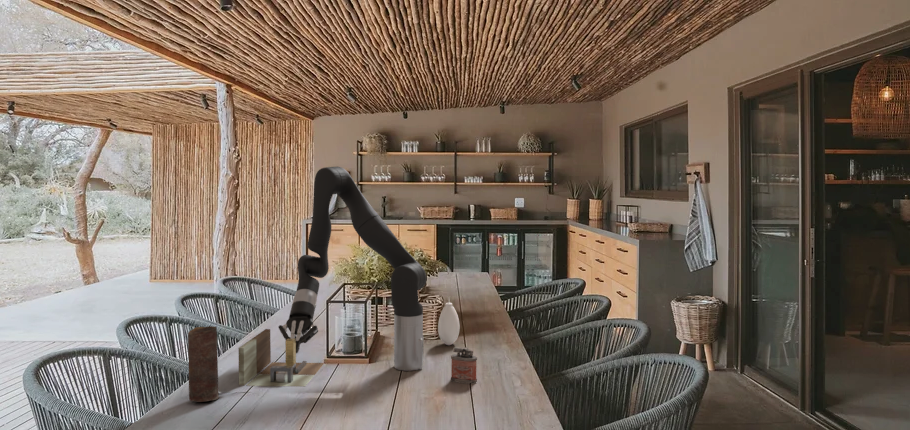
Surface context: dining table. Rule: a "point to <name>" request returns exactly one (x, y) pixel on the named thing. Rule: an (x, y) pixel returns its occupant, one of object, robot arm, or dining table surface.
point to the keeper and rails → (285, 369)
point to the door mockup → (259, 356)
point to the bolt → (288, 359)
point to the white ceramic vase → (448, 324)
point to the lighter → (463, 366)
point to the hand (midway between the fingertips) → (292, 353)
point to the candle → (203, 364)
